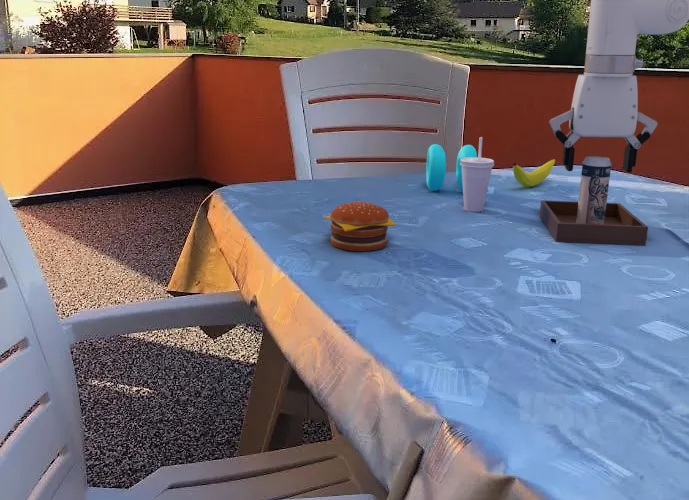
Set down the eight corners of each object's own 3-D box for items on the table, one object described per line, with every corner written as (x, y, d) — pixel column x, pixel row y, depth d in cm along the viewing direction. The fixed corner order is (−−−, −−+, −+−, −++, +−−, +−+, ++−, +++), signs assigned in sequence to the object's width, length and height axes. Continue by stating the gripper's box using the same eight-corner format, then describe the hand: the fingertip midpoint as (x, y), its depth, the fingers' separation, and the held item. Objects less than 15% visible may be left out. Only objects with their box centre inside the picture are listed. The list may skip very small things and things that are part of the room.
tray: (617, 219, 131) (619, 203, 130) (645, 245, 115) (648, 227, 114) (539, 216, 132) (540, 200, 131) (555, 241, 116) (557, 223, 115)
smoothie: (474, 215, 132) (479, 140, 128) (450, 208, 137) (454, 136, 133) (497, 210, 136) (503, 137, 132) (473, 204, 141) (478, 133, 137)
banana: (558, 181, 166) (561, 154, 164) (517, 192, 152) (520, 163, 150) (546, 179, 168) (549, 152, 166) (505, 190, 154) (508, 161, 152)
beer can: (591, 231, 120) (600, 161, 117) (569, 225, 124) (576, 157, 120) (609, 227, 123) (618, 158, 119) (587, 221, 126) (595, 154, 123)
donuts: (424, 185, 158) (427, 140, 155) (469, 186, 158) (472, 141, 155) (428, 195, 149) (430, 147, 146) (476, 196, 148) (479, 148, 145)
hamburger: (347, 255, 107) (347, 212, 105) (320, 239, 115) (320, 199, 113) (400, 248, 111) (401, 206, 109) (371, 233, 119) (371, 194, 117)
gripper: (656, 65, 118) (643, 167, 123) (550, 65, 120) (542, 165, 125) (671, 68, 111) (657, 175, 116) (558, 67, 113) (549, 173, 118)
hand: (597, 170), depth 121 cm, fingers open, 9 cm apart
